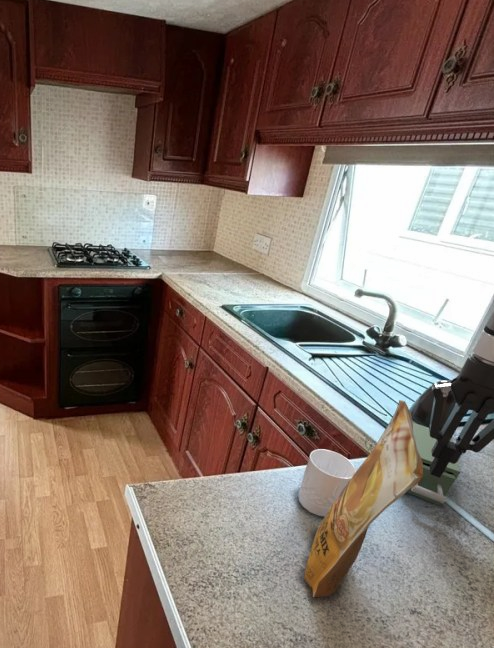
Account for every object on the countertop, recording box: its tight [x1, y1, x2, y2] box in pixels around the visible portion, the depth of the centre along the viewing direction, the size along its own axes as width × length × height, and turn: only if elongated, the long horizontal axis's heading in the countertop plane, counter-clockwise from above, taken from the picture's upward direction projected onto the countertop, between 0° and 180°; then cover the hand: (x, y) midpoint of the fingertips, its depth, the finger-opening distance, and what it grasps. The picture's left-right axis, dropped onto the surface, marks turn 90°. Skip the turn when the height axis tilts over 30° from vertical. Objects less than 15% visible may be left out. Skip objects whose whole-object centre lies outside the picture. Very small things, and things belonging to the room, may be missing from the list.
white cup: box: [297, 448, 358, 517], centre depth 76 cm, size 8×8×10 cm
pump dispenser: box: [409, 379, 456, 431], centre depth 101 cm, size 10×10×15 cm
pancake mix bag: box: [303, 399, 423, 598], centre depth 60 cm, size 7×19×28 cm, turn 145°
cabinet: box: [413, 423, 461, 506], centre depth 86 cm, size 15×9×9 cm, turn 148°
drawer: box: [406, 462, 456, 506], centre depth 83 cm, size 18×7×7 cm, turn 148°
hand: (434, 472), depth 76 cm, fingers closed
